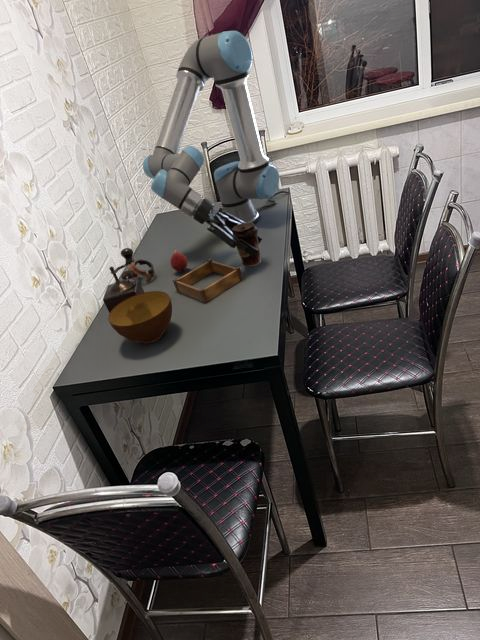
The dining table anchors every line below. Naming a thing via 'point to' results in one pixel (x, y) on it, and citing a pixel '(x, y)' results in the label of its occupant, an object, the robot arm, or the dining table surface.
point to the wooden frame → (214, 289)
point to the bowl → (142, 316)
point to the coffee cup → (250, 236)
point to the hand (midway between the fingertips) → (258, 247)
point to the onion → (178, 262)
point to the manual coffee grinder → (122, 284)
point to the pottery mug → (139, 271)
